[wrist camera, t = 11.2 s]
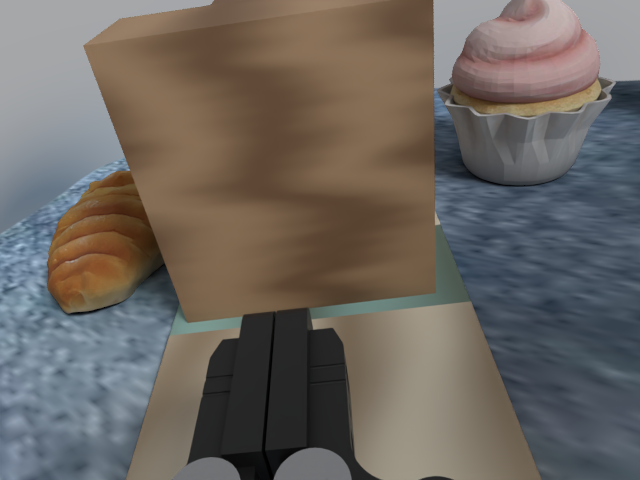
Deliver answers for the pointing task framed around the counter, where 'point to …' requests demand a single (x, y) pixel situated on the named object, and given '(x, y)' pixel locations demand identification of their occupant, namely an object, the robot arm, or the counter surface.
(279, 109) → the t block
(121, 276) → the pastry
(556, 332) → the counter surface
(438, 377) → the board
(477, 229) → the counter surface
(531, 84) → the cupcake
